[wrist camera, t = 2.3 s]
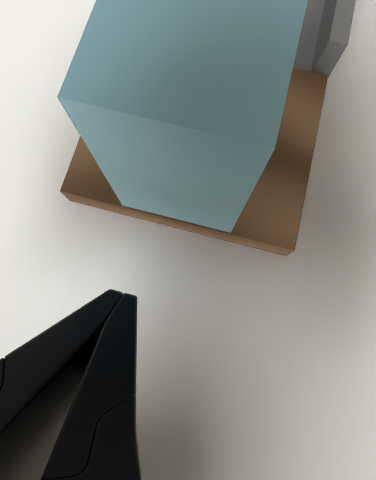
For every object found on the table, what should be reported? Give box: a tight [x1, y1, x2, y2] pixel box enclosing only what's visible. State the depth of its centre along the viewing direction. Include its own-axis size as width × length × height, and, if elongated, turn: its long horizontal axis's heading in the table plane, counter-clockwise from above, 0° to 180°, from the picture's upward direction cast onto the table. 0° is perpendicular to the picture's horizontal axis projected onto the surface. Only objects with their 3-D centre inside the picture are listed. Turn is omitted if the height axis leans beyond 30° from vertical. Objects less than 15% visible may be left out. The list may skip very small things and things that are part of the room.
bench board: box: [60, 68, 328, 255], centre depth 19 cm, size 11×13×2 cm
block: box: [58, 0, 308, 233], centre depth 14 cm, size 7×6×9 cm
